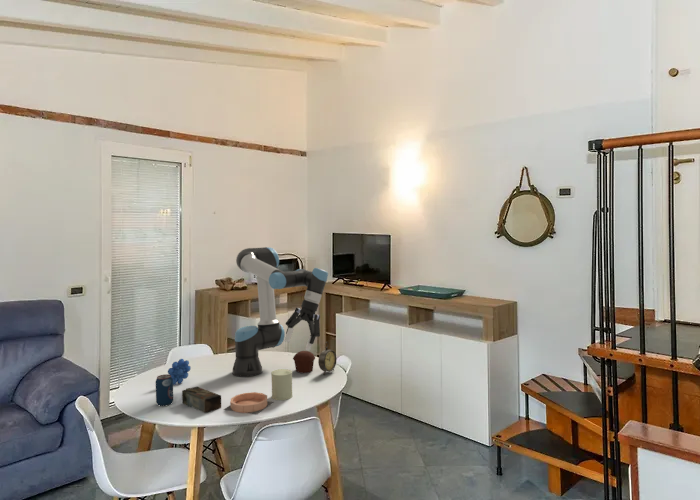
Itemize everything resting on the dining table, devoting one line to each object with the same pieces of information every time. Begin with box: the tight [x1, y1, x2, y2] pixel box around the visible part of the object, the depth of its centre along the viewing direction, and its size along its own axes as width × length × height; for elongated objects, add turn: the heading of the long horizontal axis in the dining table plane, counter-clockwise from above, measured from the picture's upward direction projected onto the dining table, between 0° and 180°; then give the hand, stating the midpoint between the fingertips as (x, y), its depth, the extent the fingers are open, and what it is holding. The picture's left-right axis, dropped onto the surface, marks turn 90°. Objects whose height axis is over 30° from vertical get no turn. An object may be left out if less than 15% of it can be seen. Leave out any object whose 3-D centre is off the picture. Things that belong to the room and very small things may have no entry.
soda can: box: [155, 373, 174, 407], centre depth 202 cm, size 7×7×12 cm
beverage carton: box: [181, 386, 222, 414], centre depth 199 cm, size 8×19×7 cm, turn 48°
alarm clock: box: [317, 341, 337, 376], centre depth 242 cm, size 11×5×16 cm, turn 148°
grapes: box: [167, 358, 192, 386], centre depth 229 cm, size 12×7×12 cm, turn 134°
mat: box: [223, 400, 275, 415], centre depth 197 cm, size 16×14×1 cm
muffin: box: [292, 350, 316, 374], centre depth 246 cm, size 12×11×10 cm
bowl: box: [229, 391, 268, 414], centre depth 197 cm, size 15×15×3 cm
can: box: [270, 368, 293, 401], centre depth 207 cm, size 9×9×12 cm
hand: (296, 346), depth 214 cm, fingers open, 13 cm apart
